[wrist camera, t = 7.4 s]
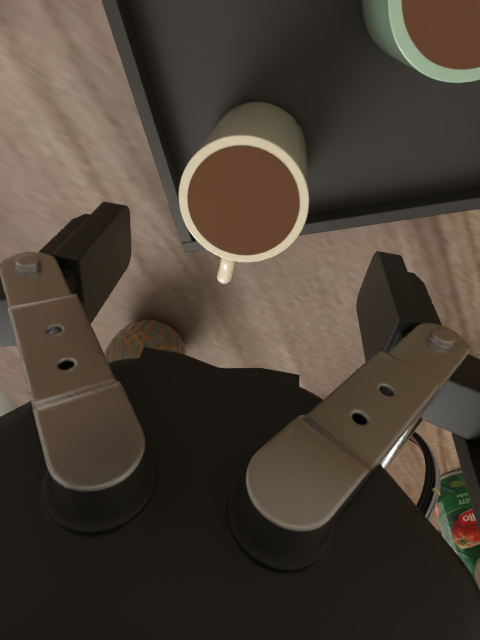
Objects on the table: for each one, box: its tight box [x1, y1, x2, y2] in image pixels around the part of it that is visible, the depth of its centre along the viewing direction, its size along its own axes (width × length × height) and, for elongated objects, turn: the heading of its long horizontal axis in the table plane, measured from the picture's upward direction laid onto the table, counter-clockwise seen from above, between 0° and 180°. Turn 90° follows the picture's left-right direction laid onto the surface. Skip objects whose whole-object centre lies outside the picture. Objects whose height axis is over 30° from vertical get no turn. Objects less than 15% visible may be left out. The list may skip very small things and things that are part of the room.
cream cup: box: [179, 102, 309, 284], centre depth 24 cm, size 9×6×8 cm
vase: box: [105, 320, 186, 363], centre depth 35 cm, size 7×7×9 cm
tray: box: [102, 0, 480, 252], centre depth 23 cm, size 18×22×2 cm
